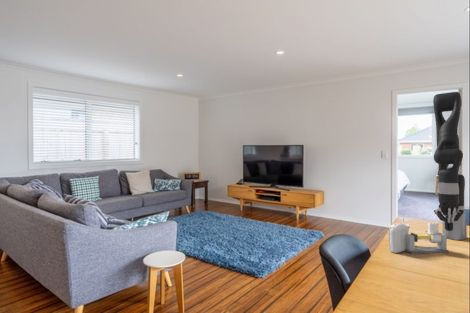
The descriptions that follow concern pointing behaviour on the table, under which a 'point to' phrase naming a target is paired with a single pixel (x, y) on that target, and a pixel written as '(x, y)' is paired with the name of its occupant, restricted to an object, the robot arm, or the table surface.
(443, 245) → the slider rail
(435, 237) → the white stepped block
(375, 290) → the table surface
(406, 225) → the smoothie
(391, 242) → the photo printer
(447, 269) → the table surface
